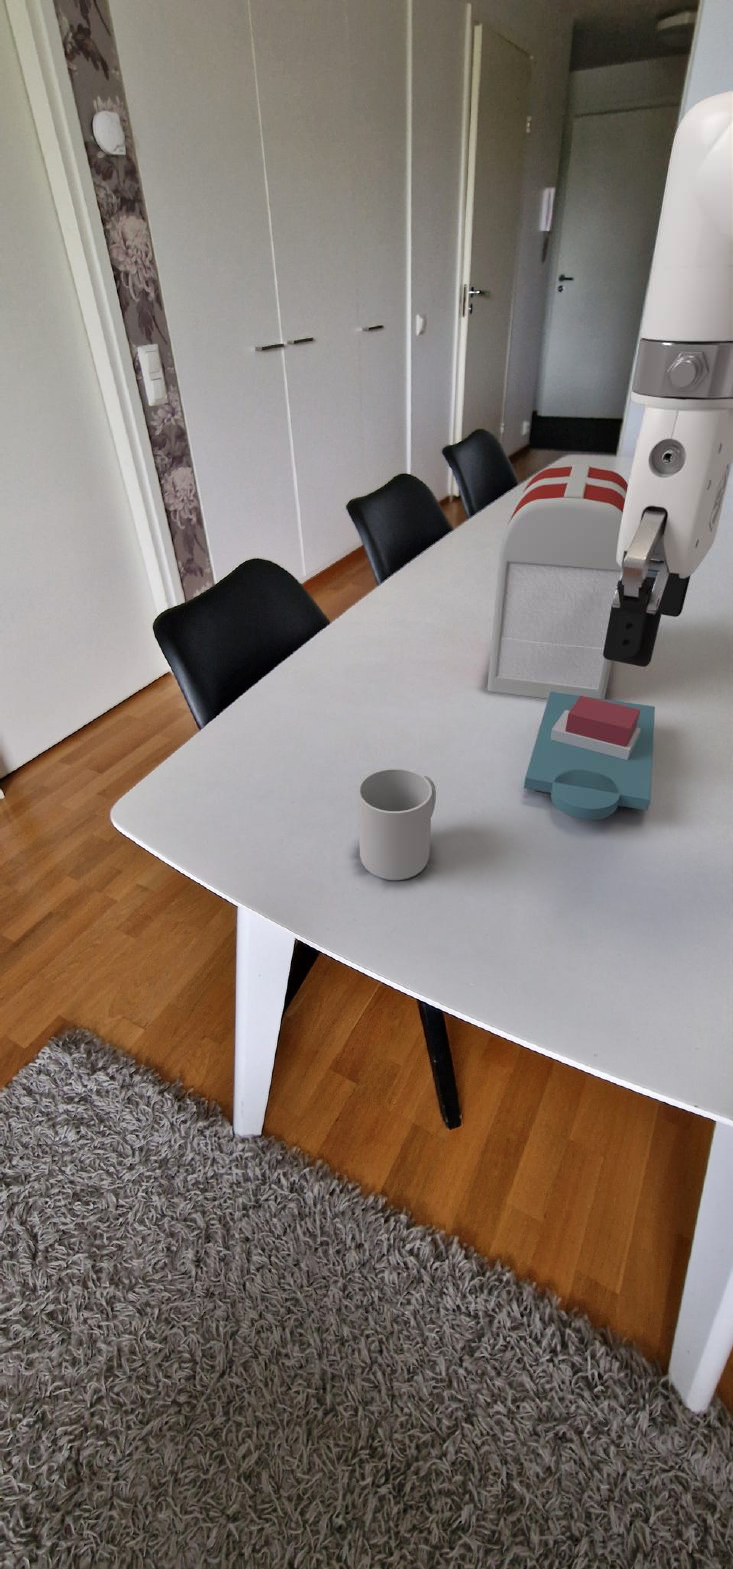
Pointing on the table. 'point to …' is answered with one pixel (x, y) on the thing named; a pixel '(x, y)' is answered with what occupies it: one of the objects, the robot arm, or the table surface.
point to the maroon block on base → (599, 727)
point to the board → (590, 767)
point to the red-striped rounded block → (558, 584)
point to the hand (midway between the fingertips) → (643, 635)
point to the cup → (395, 822)
